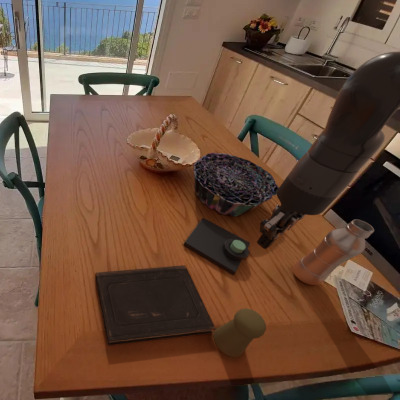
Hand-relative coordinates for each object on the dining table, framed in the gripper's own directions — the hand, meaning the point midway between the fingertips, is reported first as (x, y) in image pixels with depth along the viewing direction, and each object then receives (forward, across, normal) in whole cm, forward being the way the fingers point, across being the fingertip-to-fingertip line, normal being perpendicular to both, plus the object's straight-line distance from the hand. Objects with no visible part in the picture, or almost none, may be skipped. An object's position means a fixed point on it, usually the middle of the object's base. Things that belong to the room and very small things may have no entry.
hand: (262, 244), depth 57 cm
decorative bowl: (+15, +26, +24) cm, 38 cm away
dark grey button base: (+15, +6, +10) cm, 19 cm away
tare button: (+12, +7, +6) cm, 15 cm away
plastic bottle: (+15, +18, -8) cm, 25 cm away
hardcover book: (+15, -23, +5) cm, 28 cm away
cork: (+15, -13, -9) cm, 22 cm away
